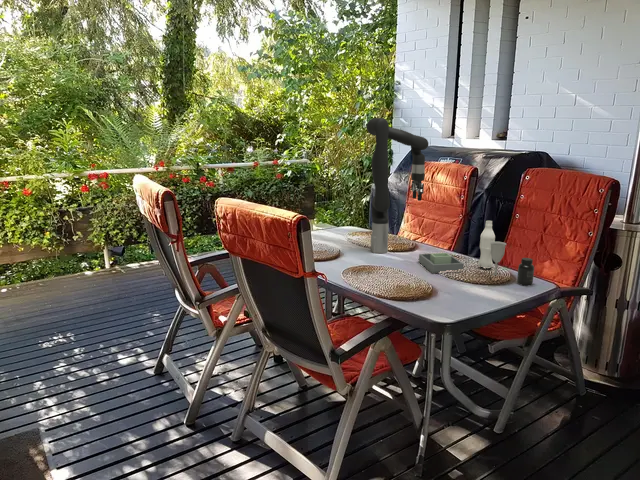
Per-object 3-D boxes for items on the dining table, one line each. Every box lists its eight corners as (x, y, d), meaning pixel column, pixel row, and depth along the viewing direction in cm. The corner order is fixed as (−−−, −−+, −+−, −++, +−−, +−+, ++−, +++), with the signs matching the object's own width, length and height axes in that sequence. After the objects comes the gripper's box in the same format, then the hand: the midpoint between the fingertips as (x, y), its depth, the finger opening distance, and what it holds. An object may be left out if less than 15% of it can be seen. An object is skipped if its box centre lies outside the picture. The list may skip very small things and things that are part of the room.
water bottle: (493, 267, 254) (497, 220, 248) (491, 271, 248) (495, 223, 242) (478, 265, 257) (482, 219, 251) (476, 269, 251) (480, 221, 244)
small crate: (434, 267, 251) (434, 256, 250) (429, 263, 257) (430, 253, 255) (450, 266, 252) (451, 256, 251) (446, 262, 258) (446, 252, 257)
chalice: (502, 277, 237) (506, 242, 233) (503, 282, 231) (506, 245, 227) (487, 276, 240) (490, 241, 235) (486, 280, 234) (490, 244, 229)
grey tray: (432, 273, 244) (433, 265, 243) (418, 262, 263) (419, 254, 262) (463, 272, 246) (463, 263, 245) (446, 260, 266) (447, 252, 264)
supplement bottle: (532, 282, 231) (535, 258, 228) (532, 286, 225) (535, 261, 222) (517, 280, 234) (519, 256, 231) (516, 284, 228) (518, 260, 225)
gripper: (407, 170, 292) (406, 197, 296) (416, 173, 279) (414, 201, 283) (419, 170, 293) (418, 197, 297) (428, 173, 280) (427, 201, 284)
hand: (416, 199), depth 290 cm, fingers open, 8 cm apart
